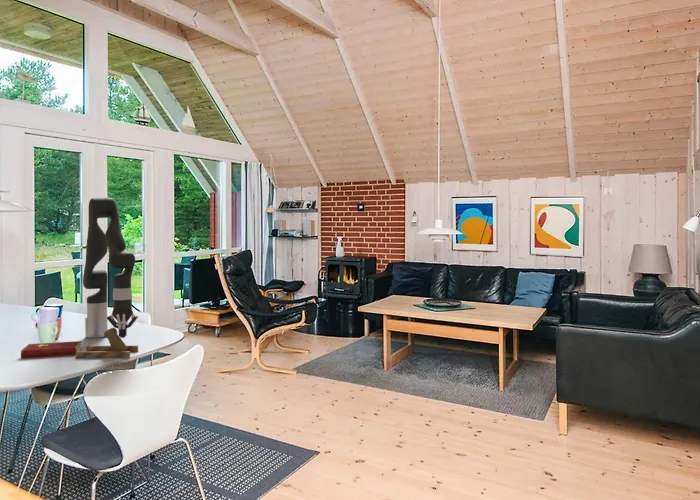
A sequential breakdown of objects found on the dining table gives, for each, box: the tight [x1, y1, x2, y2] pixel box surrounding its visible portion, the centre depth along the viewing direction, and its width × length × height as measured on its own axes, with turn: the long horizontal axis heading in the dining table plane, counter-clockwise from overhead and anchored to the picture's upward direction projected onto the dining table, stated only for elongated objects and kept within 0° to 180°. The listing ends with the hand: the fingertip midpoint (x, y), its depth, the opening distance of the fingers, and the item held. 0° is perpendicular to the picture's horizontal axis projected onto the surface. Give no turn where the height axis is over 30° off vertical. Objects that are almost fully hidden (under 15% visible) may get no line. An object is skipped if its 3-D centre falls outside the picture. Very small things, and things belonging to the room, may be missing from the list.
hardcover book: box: [20, 340, 83, 359], centre depth 221 cm, size 12×21×4 cm, turn 108°
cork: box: [104, 327, 128, 351], centre depth 220 cm, size 6×6×11 cm
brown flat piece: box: [75, 344, 139, 359], centre depth 220 cm, size 22×11×2 cm, turn 94°
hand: (122, 337), depth 221 cm, fingers closed
